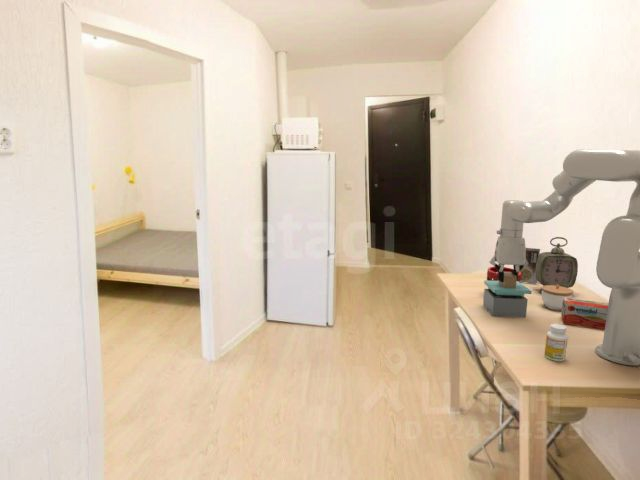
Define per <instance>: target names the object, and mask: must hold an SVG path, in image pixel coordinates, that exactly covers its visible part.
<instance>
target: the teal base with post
mask: <svg viewBox="0 0 640 480" xmlns="http://www.w3.org/2000/svg"><path fill="white" fill-rule="evenodd" d="M516 280H517V276H515V275H514V274H512V273H511V272H504V278H503V282H500V281H487V279H486V280H484V283H483V284H484V285H485V286H487V288H488V287H489V288H490V289H491V290H492V291H493V292H494V293H496V294H497V295H517V296H524V297H525V295H531V294H532V292H533V291H532V290H531V289H530V288H528V287H527V286H526V285H524V284H522V282H519V281H516ZM489 288H488V289H489Z"/></svg>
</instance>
